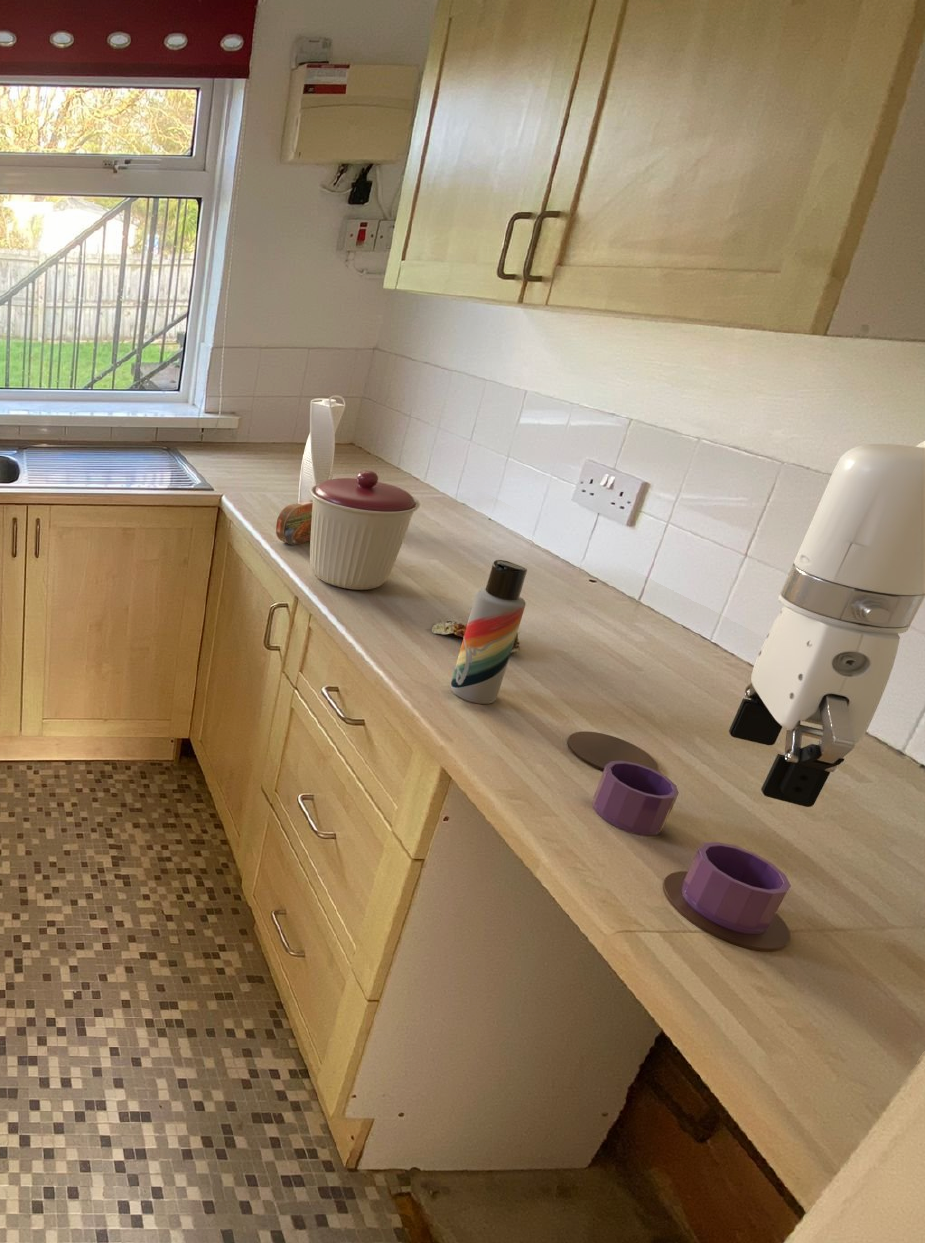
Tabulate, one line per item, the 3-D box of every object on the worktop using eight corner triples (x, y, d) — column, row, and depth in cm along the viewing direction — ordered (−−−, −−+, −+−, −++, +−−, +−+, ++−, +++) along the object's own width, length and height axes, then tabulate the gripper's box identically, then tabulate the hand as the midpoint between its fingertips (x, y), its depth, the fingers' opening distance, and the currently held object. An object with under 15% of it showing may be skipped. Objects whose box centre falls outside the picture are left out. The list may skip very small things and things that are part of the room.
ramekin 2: (756, 898, 73) (777, 858, 71) (777, 946, 68) (800, 904, 66) (675, 872, 76) (692, 833, 74) (688, 916, 71) (708, 875, 69)
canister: (351, 556, 154) (372, 455, 146) (422, 593, 138) (450, 481, 130) (276, 565, 149) (293, 461, 141) (340, 605, 133) (364, 489, 125)
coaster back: (650, 748, 96) (651, 745, 96) (663, 789, 89) (665, 786, 88) (564, 726, 100) (564, 723, 100) (570, 763, 93) (571, 760, 93)
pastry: (435, 622, 127) (440, 602, 126) (519, 644, 121) (526, 624, 119) (427, 637, 122) (433, 617, 121) (515, 661, 115) (522, 640, 114)
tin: (282, 548, 157) (288, 509, 154) (270, 543, 160) (276, 505, 157) (329, 536, 164) (336, 499, 161) (317, 531, 167) (324, 495, 164)
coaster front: (771, 898, 74) (773, 895, 74) (803, 968, 66) (805, 965, 66) (654, 861, 78) (656, 858, 78) (672, 923, 71) (673, 920, 71)
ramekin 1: (656, 809, 85) (671, 772, 83) (667, 844, 80) (684, 806, 78) (588, 789, 88) (602, 754, 86) (595, 822, 83) (610, 785, 81)
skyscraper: (330, 519, 175) (353, 397, 164) (293, 515, 177) (314, 394, 166) (326, 507, 182) (348, 390, 172) (291, 504, 184) (310, 388, 174)
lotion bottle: (440, 686, 108) (475, 557, 101) (470, 680, 110) (507, 552, 103) (474, 707, 103) (514, 573, 96) (505, 701, 105) (547, 569, 98)
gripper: (971, 654, 54) (865, 844, 60) (865, 570, 68) (789, 731, 74) (826, 628, 57) (740, 811, 63) (754, 554, 71) (690, 709, 77)
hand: (766, 768), depth 69 cm, fingers open, 9 cm apart
